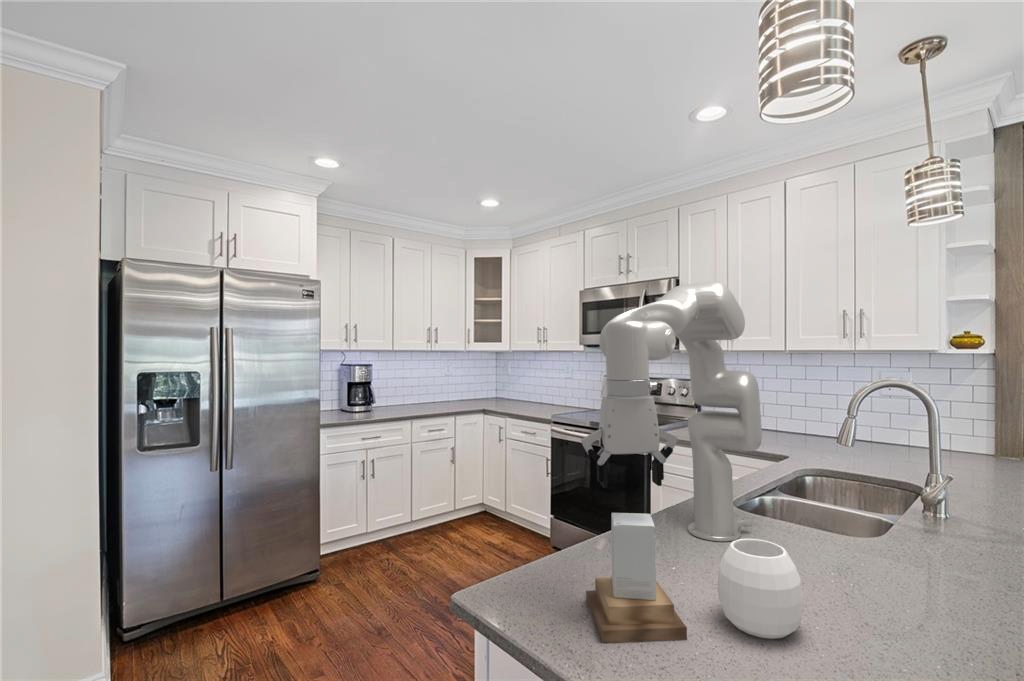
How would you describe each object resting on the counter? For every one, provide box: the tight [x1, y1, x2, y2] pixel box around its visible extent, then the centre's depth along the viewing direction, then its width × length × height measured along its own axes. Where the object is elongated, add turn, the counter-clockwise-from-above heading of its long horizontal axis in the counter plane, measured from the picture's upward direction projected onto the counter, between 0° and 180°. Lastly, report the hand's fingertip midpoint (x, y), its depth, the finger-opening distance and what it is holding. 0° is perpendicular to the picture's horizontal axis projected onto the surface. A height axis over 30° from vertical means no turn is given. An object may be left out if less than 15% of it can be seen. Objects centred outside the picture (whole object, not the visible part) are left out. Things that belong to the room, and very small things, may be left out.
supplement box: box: [610, 512, 657, 600], centre depth 90 cm, size 7×7×13 cm
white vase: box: [717, 538, 804, 640], centre depth 87 cm, size 13×13×14 cm
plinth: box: [585, 576, 688, 644], centre depth 90 cm, size 14×14×5 cm
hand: (630, 484), depth 90 cm, fingers open, 9 cm apart
